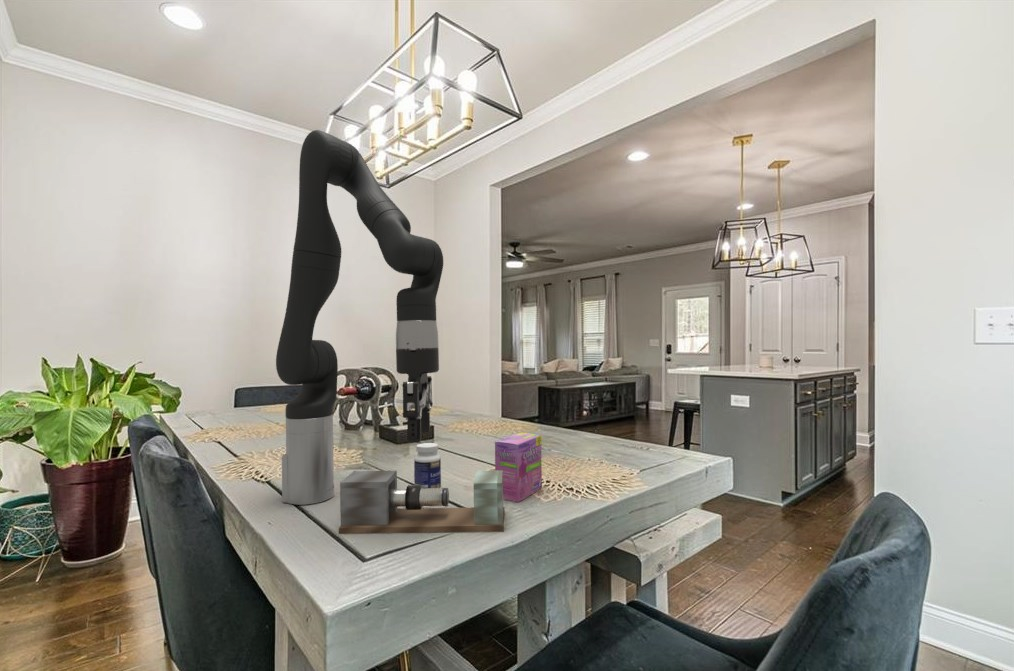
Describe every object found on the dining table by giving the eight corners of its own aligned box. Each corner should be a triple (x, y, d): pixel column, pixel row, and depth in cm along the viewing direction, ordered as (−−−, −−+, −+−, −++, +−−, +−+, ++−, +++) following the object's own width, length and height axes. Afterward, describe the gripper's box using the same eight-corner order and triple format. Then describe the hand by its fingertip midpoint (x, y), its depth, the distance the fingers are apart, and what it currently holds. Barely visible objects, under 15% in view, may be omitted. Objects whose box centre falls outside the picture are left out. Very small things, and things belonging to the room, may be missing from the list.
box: (518, 503, 94) (517, 443, 94) (494, 498, 97) (493, 440, 97) (543, 488, 102) (542, 434, 103) (520, 485, 105) (519, 432, 106)
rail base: (338, 533, 80) (338, 484, 80) (356, 514, 89) (355, 469, 89) (503, 531, 79) (502, 481, 80) (504, 512, 88) (503, 467, 89)
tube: (343, 514, 82) (343, 490, 82) (351, 506, 86) (351, 483, 87) (446, 512, 82) (445, 488, 82) (449, 504, 86) (449, 481, 86)
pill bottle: (435, 495, 99) (434, 448, 99) (410, 494, 100) (409, 447, 101) (444, 487, 105) (443, 442, 105) (420, 485, 106) (419, 441, 106)
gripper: (405, 346, 92) (407, 430, 92) (386, 347, 78) (388, 446, 77) (443, 345, 92) (445, 429, 92) (431, 346, 78) (433, 444, 77)
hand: (419, 436), depth 84 cm, fingers open, 8 cm apart
